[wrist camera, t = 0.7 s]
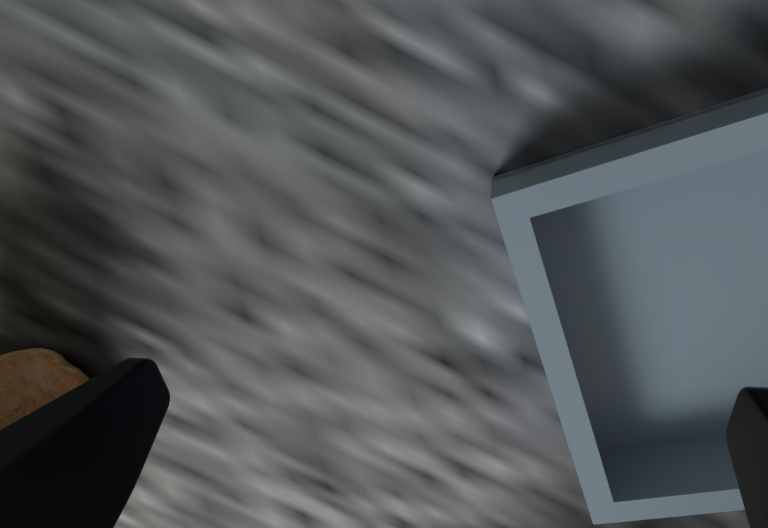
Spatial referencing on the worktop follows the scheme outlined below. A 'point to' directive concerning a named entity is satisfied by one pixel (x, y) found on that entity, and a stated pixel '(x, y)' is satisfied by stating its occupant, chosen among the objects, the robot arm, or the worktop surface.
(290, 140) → the worktop surface
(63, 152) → the worktop surface
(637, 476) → the bin
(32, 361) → the stone cup
